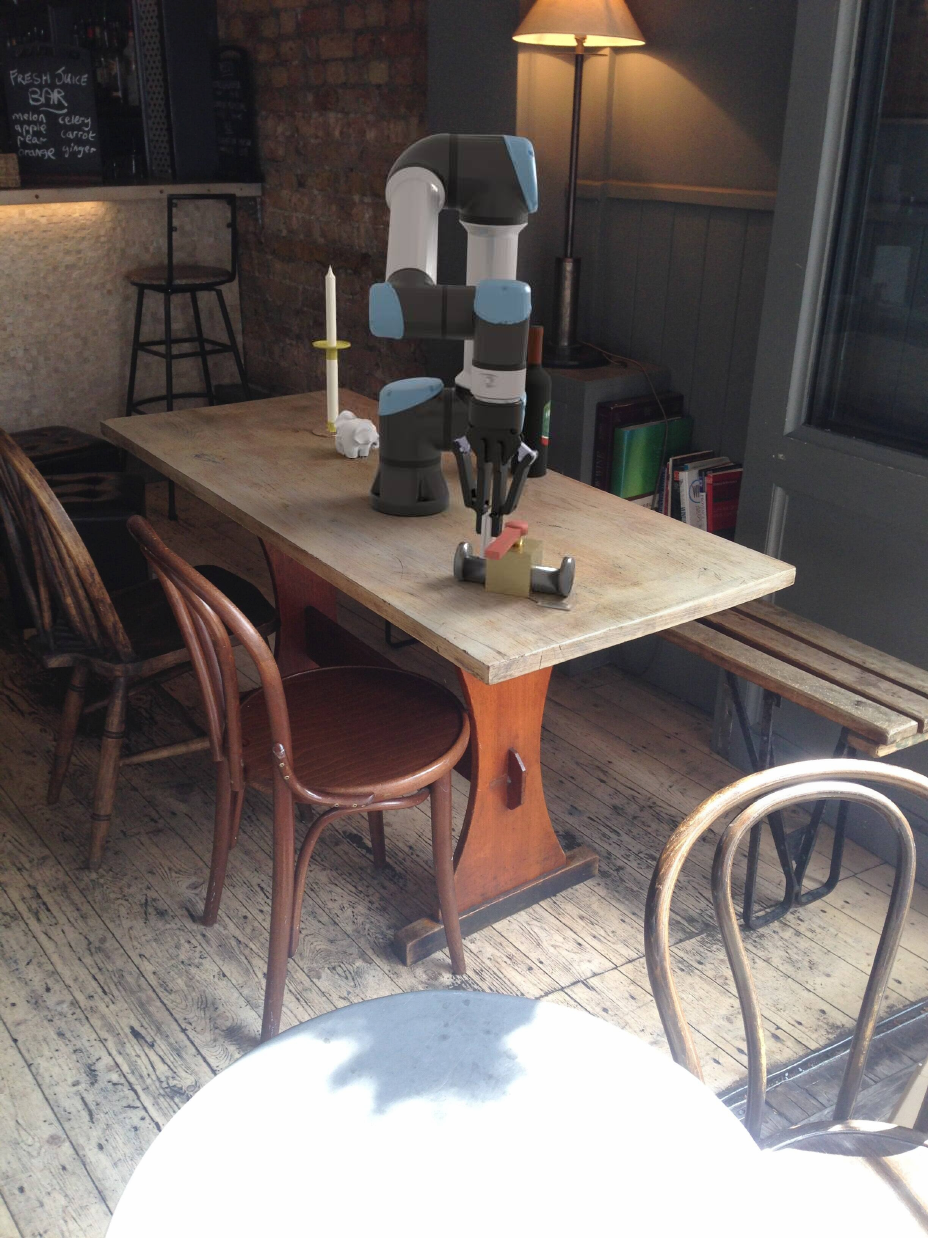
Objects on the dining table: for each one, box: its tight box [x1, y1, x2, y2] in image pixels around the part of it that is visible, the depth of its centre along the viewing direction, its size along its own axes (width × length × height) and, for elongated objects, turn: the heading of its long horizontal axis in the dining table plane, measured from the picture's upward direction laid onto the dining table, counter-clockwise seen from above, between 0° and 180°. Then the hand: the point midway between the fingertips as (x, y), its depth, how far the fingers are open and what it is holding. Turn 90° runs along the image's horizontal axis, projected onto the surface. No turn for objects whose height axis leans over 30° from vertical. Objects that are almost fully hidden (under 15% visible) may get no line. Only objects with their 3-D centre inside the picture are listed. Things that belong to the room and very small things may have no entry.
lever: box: [485, 520, 529, 560], centre depth 163 cm, size 14×4×1 cm, turn 161°
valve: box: [452, 536, 576, 611], centre depth 169 cm, size 20×9×9 cm, turn 71°
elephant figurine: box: [333, 410, 379, 459], centre depth 237 cm, size 10×12×9 cm
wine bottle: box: [510, 325, 553, 479], centre depth 224 cm, size 8×8×30 cm
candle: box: [312, 266, 351, 432], centre depth 248 cm, size 10×10×38 cm
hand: (487, 555), depth 161 cm, fingers closed
